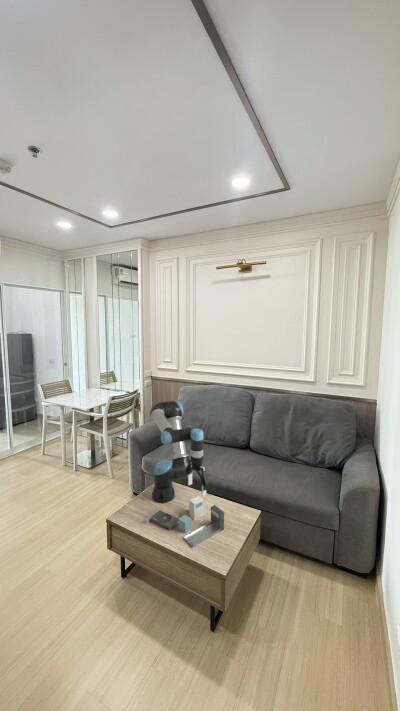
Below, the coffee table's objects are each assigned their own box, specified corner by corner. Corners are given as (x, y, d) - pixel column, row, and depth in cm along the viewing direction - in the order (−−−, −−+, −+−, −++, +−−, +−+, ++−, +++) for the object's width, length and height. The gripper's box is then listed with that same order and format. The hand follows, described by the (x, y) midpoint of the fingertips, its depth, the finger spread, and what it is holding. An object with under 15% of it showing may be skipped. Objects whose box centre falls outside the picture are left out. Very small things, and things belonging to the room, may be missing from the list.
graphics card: (144, 518, 166) (157, 506, 176) (144, 524, 167) (158, 512, 177) (167, 529, 157) (180, 516, 168) (167, 535, 158) (180, 522, 168)
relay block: (178, 529, 162) (178, 519, 161) (184, 524, 166) (184, 514, 165) (185, 533, 159) (185, 522, 158) (191, 527, 163) (191, 518, 162)
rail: (183, 538, 155) (183, 520, 153) (214, 521, 168) (214, 504, 167) (192, 547, 148) (192, 528, 147) (223, 529, 162) (224, 512, 161)
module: (189, 515, 173) (189, 499, 172) (198, 510, 178) (198, 495, 177) (194, 520, 169) (194, 504, 168) (203, 515, 174) (203, 499, 173)
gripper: (179, 449, 177) (179, 482, 179) (205, 465, 157) (205, 501, 160) (189, 446, 182) (189, 478, 184) (215, 461, 162) (215, 496, 164)
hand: (196, 489), depth 172 cm, fingers open, 13 cm apart
